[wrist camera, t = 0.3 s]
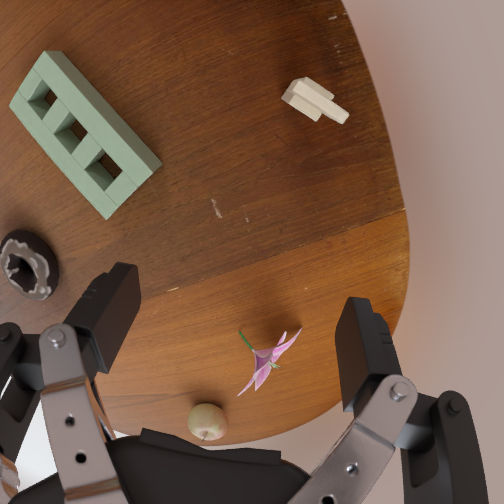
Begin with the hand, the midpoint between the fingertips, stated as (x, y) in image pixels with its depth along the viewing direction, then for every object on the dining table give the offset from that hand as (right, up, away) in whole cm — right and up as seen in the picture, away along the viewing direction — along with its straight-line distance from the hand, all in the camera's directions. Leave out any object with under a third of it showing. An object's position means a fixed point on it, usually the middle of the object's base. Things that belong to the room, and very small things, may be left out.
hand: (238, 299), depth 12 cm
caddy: (-18, +16, +18) cm, 31 cm away
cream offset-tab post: (+5, +17, +17) cm, 25 cm away
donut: (-33, +1, +28) cm, 43 cm away
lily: (+3, -11, +33) cm, 35 cm away
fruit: (-8, -28, +44) cm, 53 cm away
